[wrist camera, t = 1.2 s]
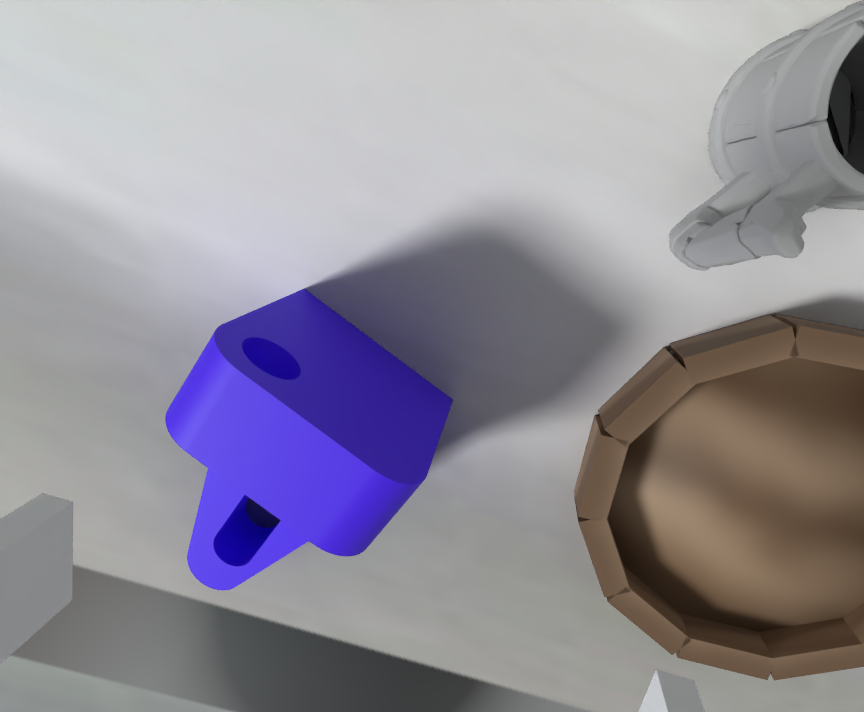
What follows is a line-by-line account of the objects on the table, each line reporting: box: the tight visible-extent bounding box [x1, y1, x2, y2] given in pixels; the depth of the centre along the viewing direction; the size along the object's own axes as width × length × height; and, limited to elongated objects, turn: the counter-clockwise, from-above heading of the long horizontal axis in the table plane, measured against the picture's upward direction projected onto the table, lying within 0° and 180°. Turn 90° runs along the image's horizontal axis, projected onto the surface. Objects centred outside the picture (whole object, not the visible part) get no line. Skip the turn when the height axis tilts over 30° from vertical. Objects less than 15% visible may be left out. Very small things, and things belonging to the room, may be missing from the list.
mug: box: [669, 0, 864, 270], centre depth 22 cm, size 8×12×12 cm, turn 137°
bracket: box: [166, 289, 453, 590], centre depth 31 cm, size 18×11×12 cm, turn 144°
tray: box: [574, 314, 864, 680], centre depth 31 cm, size 20×20×3 cm
